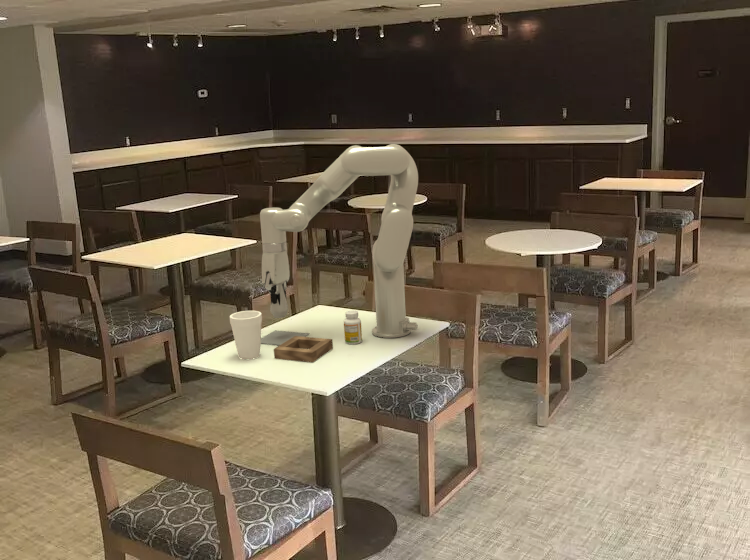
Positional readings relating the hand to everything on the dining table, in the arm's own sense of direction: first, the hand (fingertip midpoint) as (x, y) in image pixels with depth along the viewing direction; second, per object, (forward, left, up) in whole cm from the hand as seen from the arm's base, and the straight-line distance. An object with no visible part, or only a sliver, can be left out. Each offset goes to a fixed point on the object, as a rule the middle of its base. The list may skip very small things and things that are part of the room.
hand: (278, 303), depth 244 cm
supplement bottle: (-24, -3, -12) cm, 27 cm away
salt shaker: (0, 0, -4) cm, 4 cm away
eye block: (-14, +11, -12) cm, 21 cm away
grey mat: (0, 0, -12) cm, 12 cm away
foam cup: (+1, +18, -12) cm, 21 cm away
